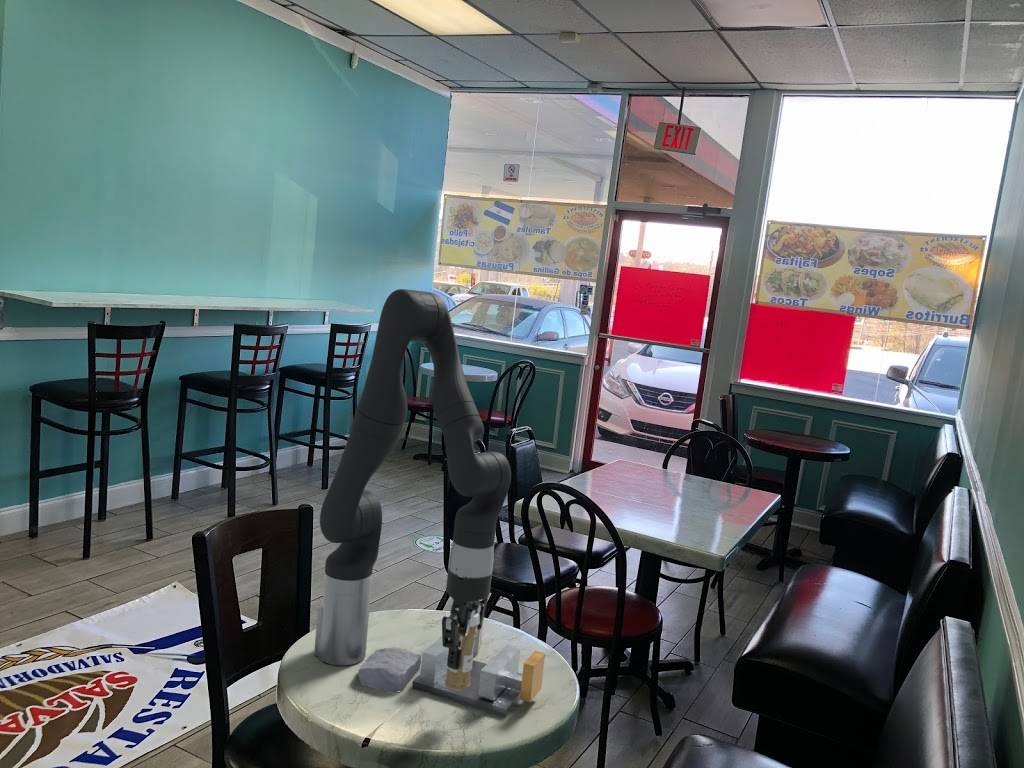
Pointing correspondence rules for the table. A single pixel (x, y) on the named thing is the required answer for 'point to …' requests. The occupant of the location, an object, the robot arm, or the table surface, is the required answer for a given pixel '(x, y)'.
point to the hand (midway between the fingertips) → (459, 661)
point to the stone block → (389, 668)
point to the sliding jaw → (512, 674)
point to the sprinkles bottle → (463, 661)
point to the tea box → (478, 640)
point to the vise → (434, 684)
